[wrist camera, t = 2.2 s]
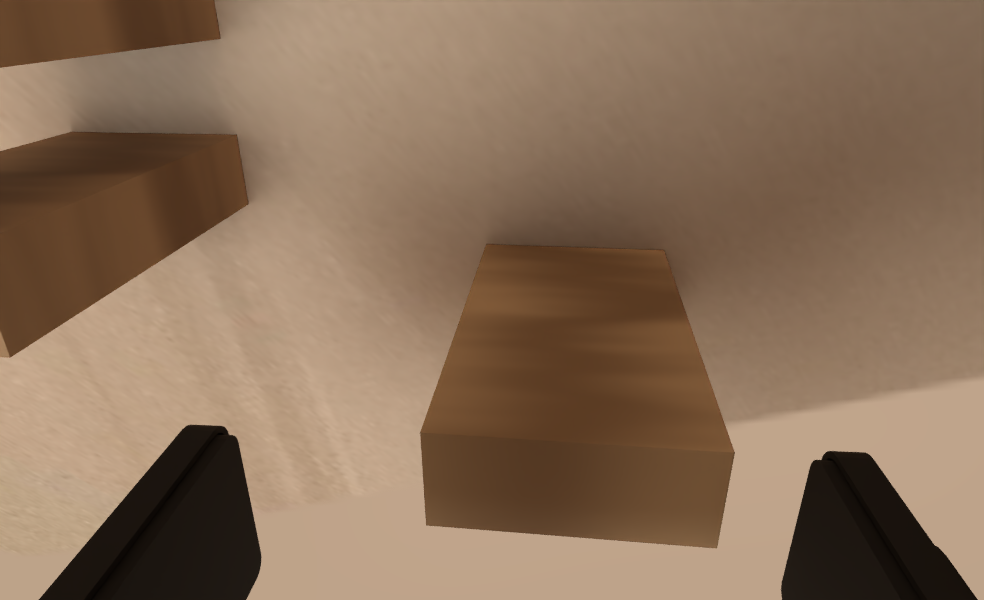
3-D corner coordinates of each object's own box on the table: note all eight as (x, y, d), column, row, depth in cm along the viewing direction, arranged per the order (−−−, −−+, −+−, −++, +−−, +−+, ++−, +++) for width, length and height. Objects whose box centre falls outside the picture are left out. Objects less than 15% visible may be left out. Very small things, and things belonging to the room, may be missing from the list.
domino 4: (236, 134, 18) (-30, 246, 10) (248, 204, 19) (9, 357, 11) (71, 132, 19) (-309, 235, 11) (89, 199, 20) (-249, 342, 12)
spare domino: (663, 250, 18) (734, 452, 10) (656, 314, 19) (716, 547, 11) (486, 243, 19) (420, 432, 11) (487, 306, 20) (425, 525, 12)
